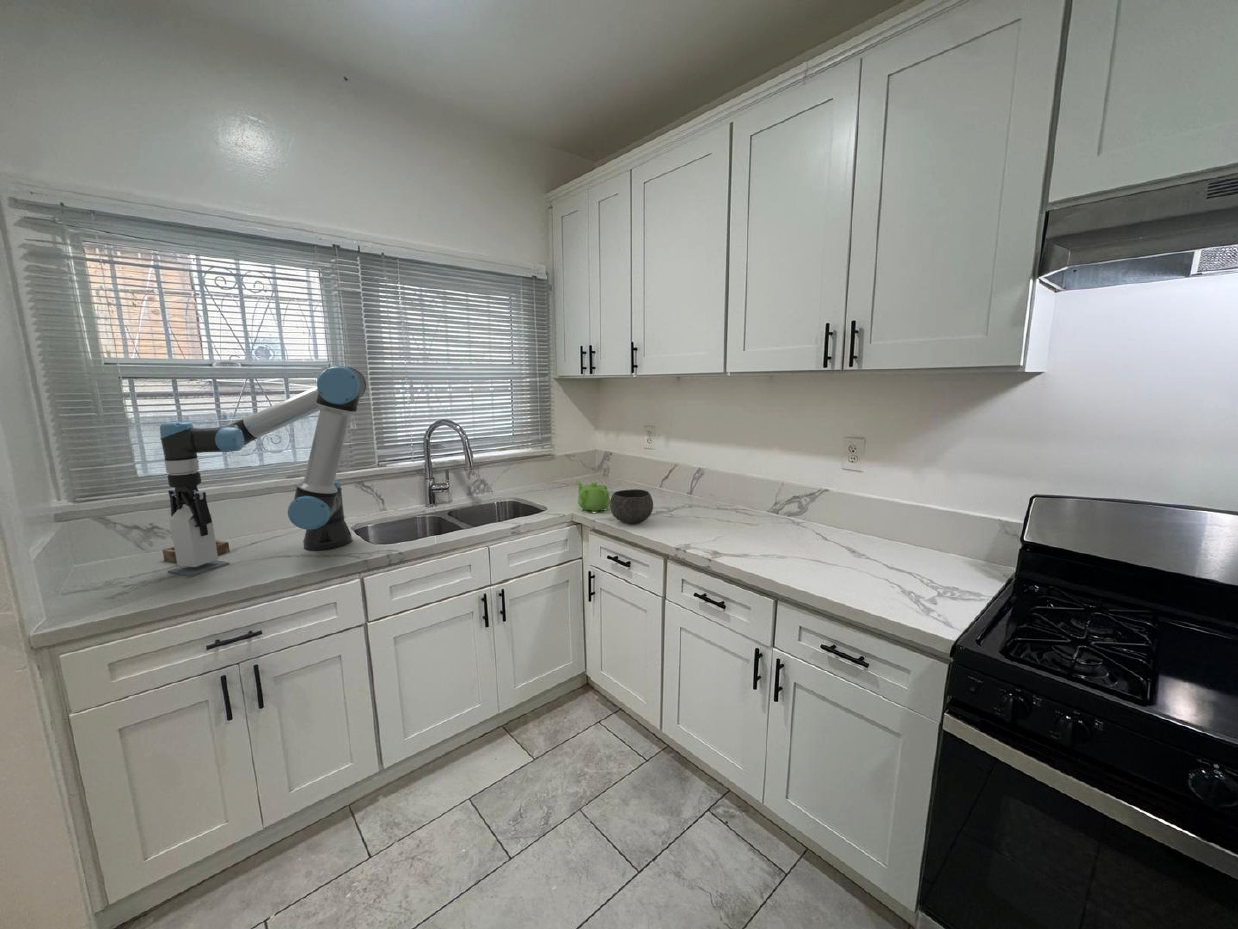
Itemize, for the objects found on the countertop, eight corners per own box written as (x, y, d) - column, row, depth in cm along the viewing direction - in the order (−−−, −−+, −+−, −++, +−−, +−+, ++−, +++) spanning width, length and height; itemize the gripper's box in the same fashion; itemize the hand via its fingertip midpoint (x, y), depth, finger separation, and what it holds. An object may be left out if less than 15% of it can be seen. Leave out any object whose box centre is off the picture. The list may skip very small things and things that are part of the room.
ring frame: (229, 551, 169) (228, 542, 168) (188, 564, 157) (186, 554, 157) (206, 547, 173) (204, 538, 172) (164, 560, 161) (162, 550, 161)
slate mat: (229, 564, 157) (229, 562, 157) (190, 577, 147) (190, 575, 147) (207, 560, 161) (207, 558, 161) (167, 572, 151) (167, 570, 151)
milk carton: (195, 567, 150) (185, 508, 146) (177, 566, 151) (167, 506, 148) (218, 559, 157) (209, 502, 153) (200, 557, 158) (191, 501, 155)
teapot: (572, 514, 214) (572, 486, 212) (576, 505, 228) (576, 479, 225) (609, 514, 213) (609, 486, 211) (611, 505, 227) (610, 479, 225)
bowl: (628, 531, 189) (628, 500, 187) (601, 521, 203) (600, 491, 201) (662, 523, 200) (662, 493, 198) (633, 513, 214) (633, 485, 212)
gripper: (219, 472, 149) (230, 543, 153) (176, 468, 156) (188, 536, 160) (191, 477, 142) (203, 551, 146) (147, 472, 149) (160, 544, 153)
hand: (195, 543), depth 153 cm, fingers closed on milk carton, 8 cm apart
